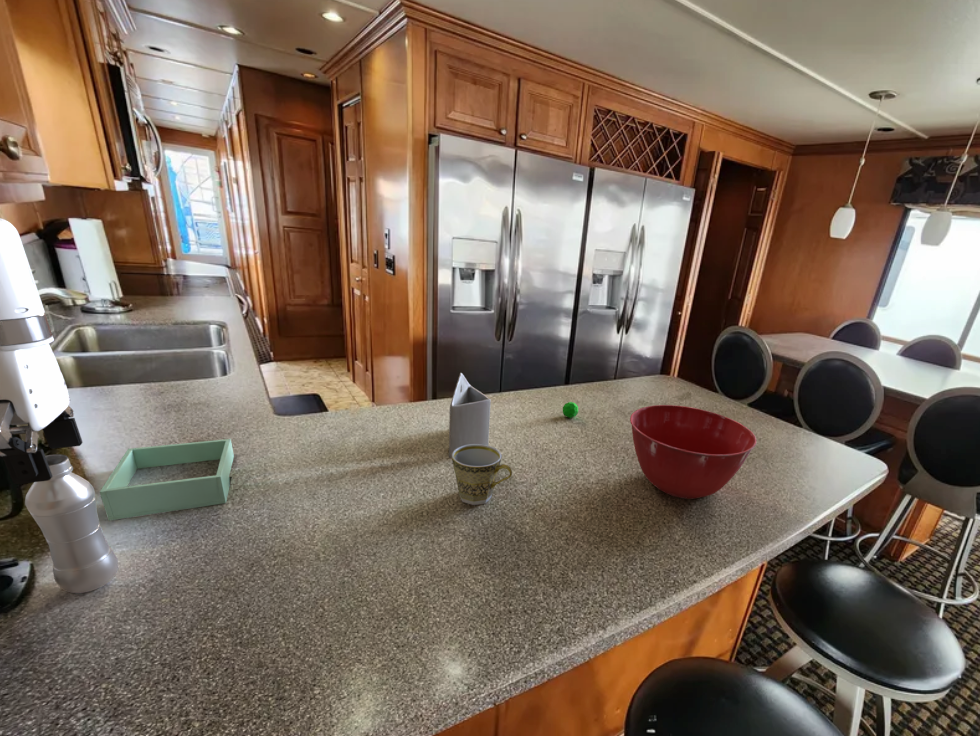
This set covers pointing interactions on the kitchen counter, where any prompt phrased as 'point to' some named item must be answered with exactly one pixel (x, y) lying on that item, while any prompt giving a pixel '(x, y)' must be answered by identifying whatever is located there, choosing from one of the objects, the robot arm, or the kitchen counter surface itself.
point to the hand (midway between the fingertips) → (51, 462)
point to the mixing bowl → (689, 448)
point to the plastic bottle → (71, 528)
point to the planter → (468, 416)
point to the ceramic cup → (477, 472)
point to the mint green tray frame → (170, 493)
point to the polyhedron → (570, 409)
